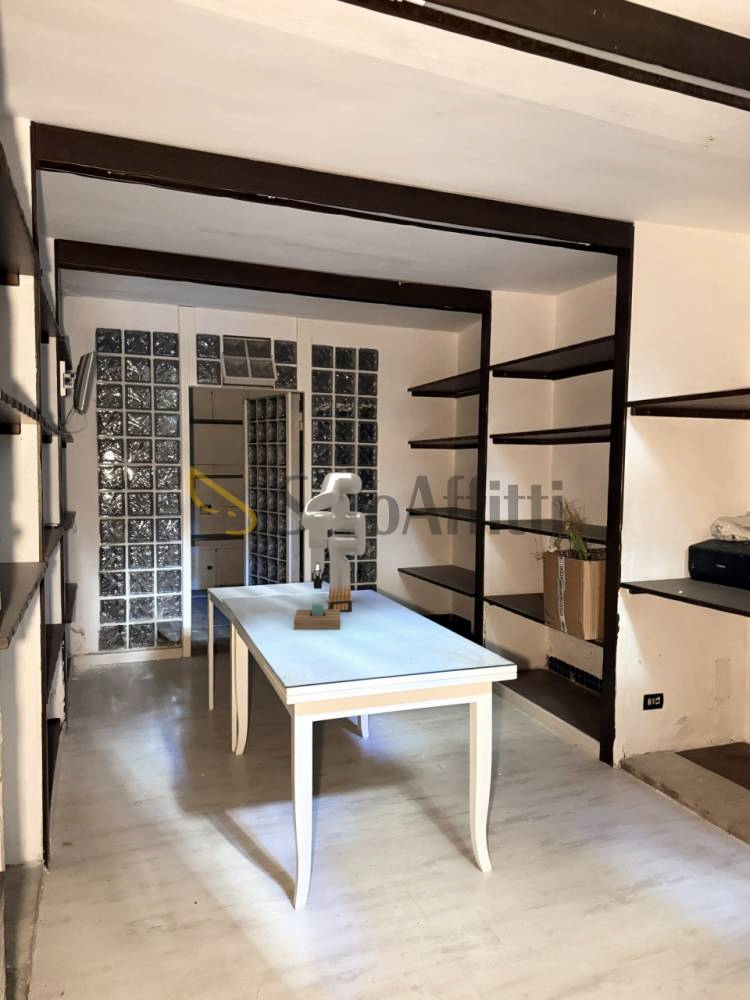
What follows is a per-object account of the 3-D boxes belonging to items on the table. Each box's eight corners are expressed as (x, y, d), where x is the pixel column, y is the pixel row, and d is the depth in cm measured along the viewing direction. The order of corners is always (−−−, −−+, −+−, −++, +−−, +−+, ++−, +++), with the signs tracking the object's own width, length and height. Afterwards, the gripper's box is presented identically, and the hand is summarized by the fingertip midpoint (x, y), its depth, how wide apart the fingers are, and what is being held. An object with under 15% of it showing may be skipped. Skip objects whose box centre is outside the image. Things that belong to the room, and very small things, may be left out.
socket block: (296, 618, 282) (296, 609, 282) (340, 618, 283) (340, 609, 283) (294, 629, 264) (294, 619, 264) (339, 629, 265) (340, 619, 265)
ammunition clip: (350, 610, 298) (350, 584, 297) (352, 611, 296) (352, 584, 296) (327, 613, 294) (327, 585, 293) (329, 613, 292) (329, 586, 291)
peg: (312, 622, 276) (312, 603, 275) (323, 622, 276) (323, 603, 276) (312, 625, 271) (312, 605, 271) (323, 625, 272) (323, 605, 271)
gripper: (309, 541, 280) (309, 581, 282) (307, 547, 263) (307, 590, 264) (327, 541, 281) (327, 581, 282) (327, 547, 263) (327, 590, 265)
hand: (318, 586), depth 273 cm, fingers open, 9 cm apart
